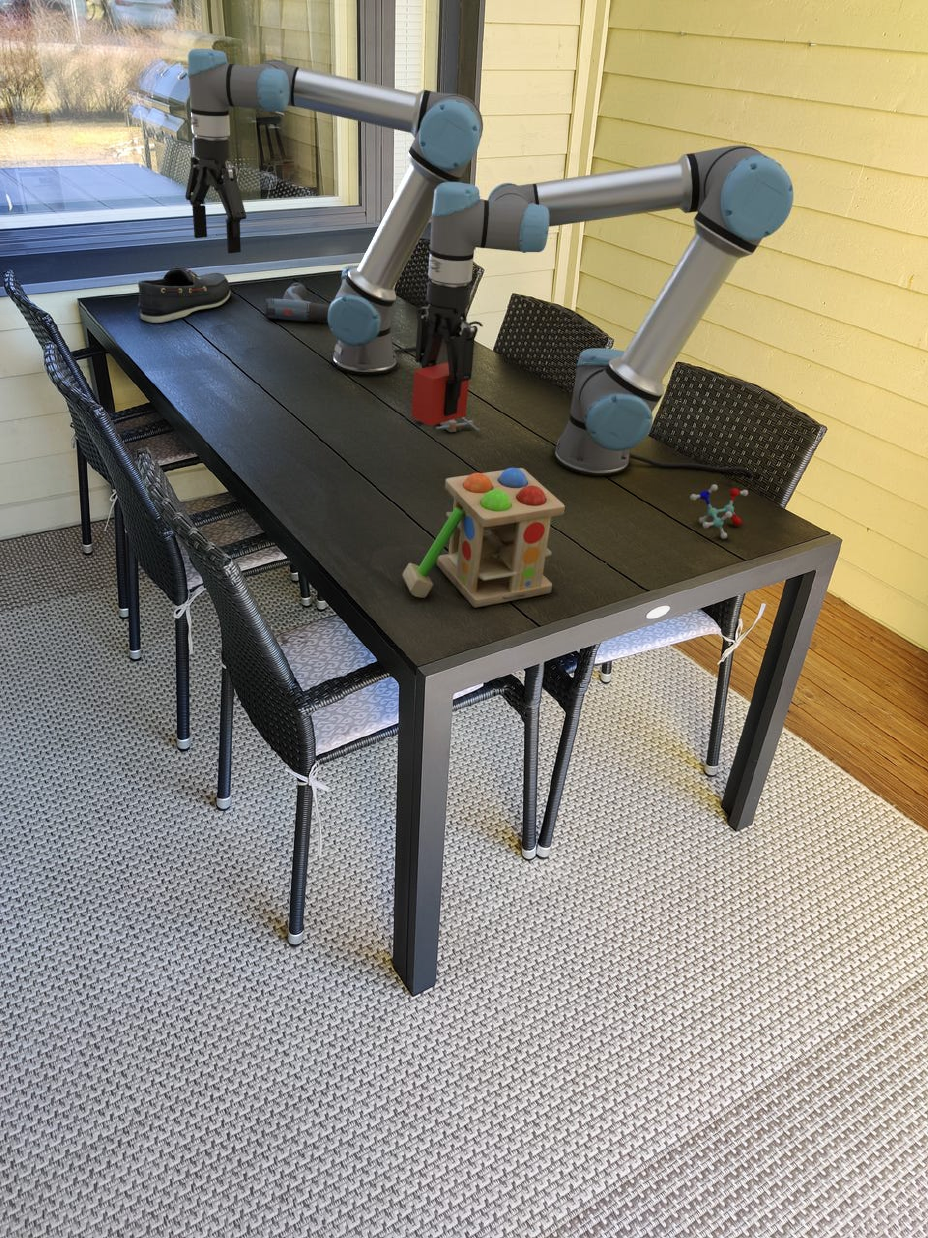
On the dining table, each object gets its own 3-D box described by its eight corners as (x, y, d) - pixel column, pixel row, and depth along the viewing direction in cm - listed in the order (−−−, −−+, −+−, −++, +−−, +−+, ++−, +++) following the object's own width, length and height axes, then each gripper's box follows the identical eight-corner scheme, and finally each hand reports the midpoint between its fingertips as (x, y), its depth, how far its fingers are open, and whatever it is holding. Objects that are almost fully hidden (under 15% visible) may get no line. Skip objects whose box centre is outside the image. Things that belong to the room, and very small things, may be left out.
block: (411, 416, 181) (414, 370, 176) (447, 406, 187) (451, 361, 182) (429, 426, 178) (433, 379, 173) (465, 415, 184) (469, 369, 179)
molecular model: (753, 532, 175) (738, 478, 173) (701, 547, 178) (685, 494, 177) (757, 522, 185) (742, 472, 184) (707, 537, 189) (692, 487, 187)
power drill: (344, 304, 276) (335, 327, 259) (277, 298, 275) (264, 321, 258) (344, 285, 273) (335, 306, 256) (277, 279, 272) (264, 300, 255)
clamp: (408, 405, 213) (448, 399, 218) (407, 414, 215) (447, 409, 219) (441, 432, 203) (482, 426, 207) (440, 442, 204) (481, 435, 209)
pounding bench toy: (424, 619, 150) (431, 515, 140) (388, 572, 160) (393, 472, 150) (553, 592, 159) (568, 494, 149) (511, 550, 169) (523, 455, 159)
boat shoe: (248, 301, 272) (246, 262, 267) (158, 325, 248) (153, 283, 243) (214, 293, 278) (211, 255, 272) (123, 315, 254) (117, 274, 248)
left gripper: (163, 126, 205) (172, 232, 217) (228, 148, 191) (233, 260, 202) (195, 125, 209) (202, 229, 221) (261, 146, 195) (264, 256, 207)
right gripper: (398, 269, 171) (392, 396, 184) (470, 298, 161) (458, 429, 174) (430, 264, 176) (422, 388, 189) (502, 292, 166) (488, 421, 179)
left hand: (217, 244), depth 212 cm, fingers open, 13 cm apart
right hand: (439, 408), depth 182 cm, fingers closed on block, 5 cm apart
